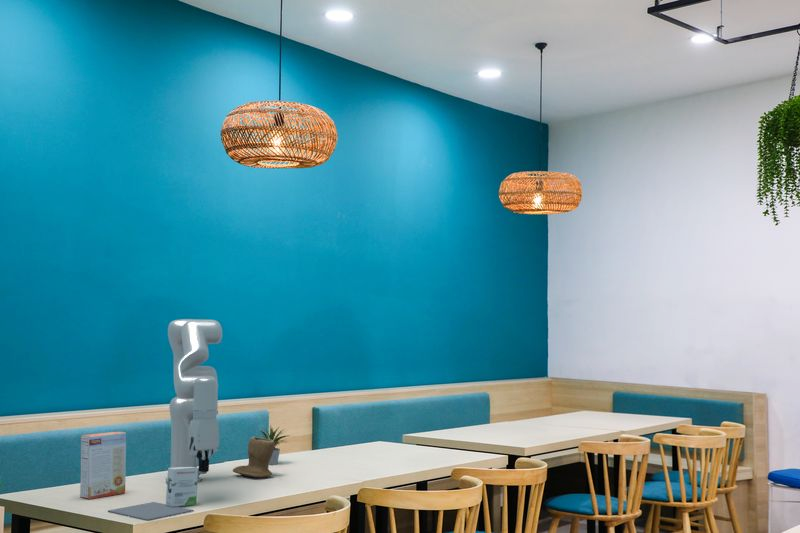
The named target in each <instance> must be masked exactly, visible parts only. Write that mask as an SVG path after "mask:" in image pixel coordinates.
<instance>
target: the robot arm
mask: <svg viewBox="0 0 800 533" xmlns="http://www.w3.org/2000/svg"><path fill="white" fill-rule="evenodd" d="M167 337H168V342H169V345H170V347H171V350H172V354H173V355H172V356H173V385H174V391H175V394H176V396H175V397H173V398H172V399H171V400H170V402H169V415H170V423H171V424H170V425H171V426H170V427H171V428H170V429H171V431H170V432H171V433H170V434H171V436H170V437H171V439H170V440H171V441H170V468H177V467H196V468H198V480H197V483H199V482H201V481H202V477H201V475H204V474H208V472H209V470H210V460H211V458H212V455H213V454H214V453H216V452H218V450H219V449H218V448H219V446H220V429H219V428H220V426H219V420H218V418H217V416H218V415H219V411H218V409H219V408H218V402H219V401H218V397H219V396H218V394H219V393H218V391H219V382H218V375H217V371H216V369H215V368H214V367H212V366H209V365H202V364H204V363H205V362H206V361H207V360H208V359H209V347H208V345H209V344H210V345H214V344H219V343H221V341H222V339H223V329H222V326H221V324H220V322H219V321H217V320H215V319H196V318H195V319H191V318H185V319H184V318H183V319H175V320H172V321H170V323H169V324H168V327H167ZM165 482H166V483H167V478H165Z"/></svg>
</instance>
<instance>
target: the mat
mask: <svg viewBox="0 0 800 533" xmlns="http://www.w3.org/2000/svg"><path fill="white" fill-rule="evenodd" d="M191 511H193V512H194V511H195V510H194V509H190V508H185V507H182V506H176V507H171V506H168V505H166V503H161V502H156V501H151V502H145V503H142V504H136V505H129V506H125V507H120V508H114V509H109V510H107V513H111V514H116V515H121V516H125V517H128V516H129V518H134V519H137V520H143V521H153V520H154V521H155V520H158V518H159V519H163V518H162V517H164V518H167V517H168V516H169V517H173V516H177V514H178V515H182V514H181V513H183V514H186V513H187V512H188V513H192V512H191ZM172 515H173V516H172ZM169 517H168V518H169Z"/></svg>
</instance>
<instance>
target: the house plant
mask: <svg viewBox="0 0 800 533" xmlns="http://www.w3.org/2000/svg"><path fill="white" fill-rule="evenodd" d="M279 428H280V426H278V427H277V428H276V429H275V430H274V428H273V427H272V425H270V427H269V431H268V430H267V429H266V428H264V429H262V430H260V433H261V434H262V438H265V439H270V440H273V441H274V443H275V447H274V451H273V454H272V457H271V459H270V461H269V464H268V466H276V465H278V462H279V456H280V451H281V449H280V448H276V447H278V446H279V445H280V444H281V443H287V441H288V439H283V438H286V437H291V435H282V434H283V433H285V429H284V428H283V429H281V430H280V431H279V432H278V429H279ZM264 430H265V431H264ZM287 431H289V430H287ZM277 432H278V433H277ZM276 433H277V435H276ZM280 435H282V436H280ZM281 439H283V440H281ZM286 440H287V441H286Z"/></svg>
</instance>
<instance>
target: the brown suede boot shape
mask: <svg viewBox="0 0 800 533" xmlns="http://www.w3.org/2000/svg"><path fill="white" fill-rule="evenodd" d="M274 447H275V448H276V446H275V443H274V439H273V440H270V439H266V438H264V437H260V436H258V437H257V436H251V437H250V439H249V440H248V445H247V455H248V465H238V466H236V467H234V468H233V469H232V472H233V473H235V474H238V475H243V476H246V477H249V478H266V477H267V478H268V477H271V476H273V474H274V473H273V472H272V471H271V470H270V469H269V465H268V464H269V461H270V459H271V457H272V454H273V451H274Z"/></svg>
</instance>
